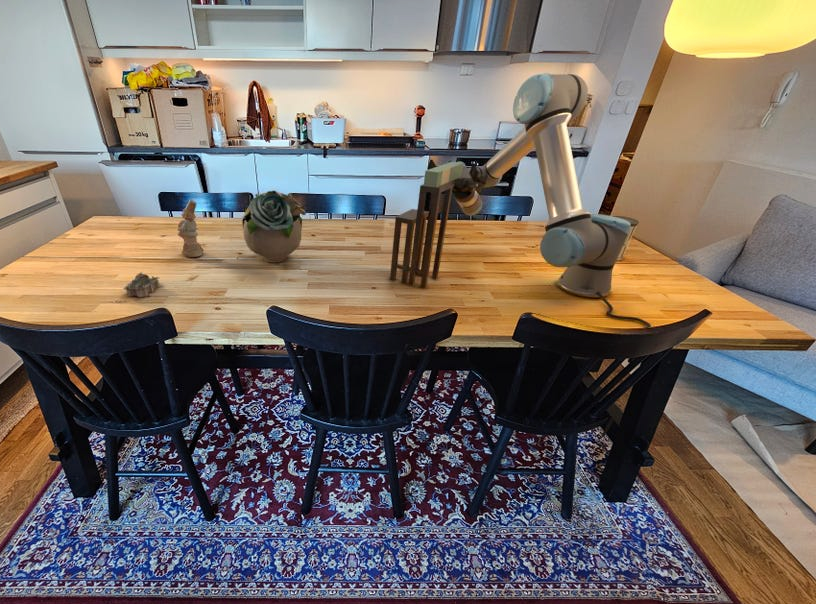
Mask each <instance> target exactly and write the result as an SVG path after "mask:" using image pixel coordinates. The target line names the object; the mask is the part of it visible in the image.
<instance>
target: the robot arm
mask: <svg viewBox="0 0 816 604" xmlns="http://www.w3.org/2000/svg"><path fill="white" fill-rule="evenodd" d="M588 90H589V89H588V85H587V83H586V81H585V80H584V78H583V77H581V76H579V75H577V74H573V73H567V74H566V73H565V74H562V73H560V74H559V73H558V74H557V73H553V74H552V73H550V72H543V73H537V74H534V75H532V76H530V77H528V78H527V79H526V80H525V81H524V82H523V83H522V84H521V85H520V86H519V89H518V90H517V93H516V96H515V97H514V100H513V104H512V112H513V117H514V120H515V121H517V122H518V123H519V124H521V125H524V127H523V128H522V129H521V130H520V131H519V132H518V133H517V134H515V136H514V137H512V138H511V140H509V141H508V142H507V143H506V144H505V145H504V146H503V147H502V148H501V149H500V150H498V151H497V152H496V153H495V154H494V155H493V156H492V157H491V158H490V159H489V160H488V161H487V162H485V164H484V165H482V166H476V164H475V163H472V164H471V167H467V165H466V164H465V163H464V162H463V161H458V162H459V163H464V164H463V169H462V175H461V177H459V178H457V179H455V180H452V181H455V184H454V187H453V188H452V194H451V196H453V198H454V199H455V201H456V202H457V204H458V205H459V207H460V210H461V211H462V213H464V214H465V215H466V216H471V217H472V216H475V215H478V213H480V212H481V209H482V208H483V200H482V197H481V196H480V193H481V191H482V189H484V188H485V189H487V188H491V187H496V186H497V185H499V184H500V183H501V180H502V178H503V175H505V173H506V172H508V171H509V170H510V169H512V168H513V167H515V166H516V164H518V163H519V162H520V161H521V160H522V159H524V158H525V157H526V156H527V155H528V154H529V153H531V152H532V151H534V150H535V153H536V158H537V163H538V169H539V174H540V178H541V179H540V180H541V184H542V191H543V195H544V199H545V204H546V210H547V215H548V221H547V222H546V224H545V225H544V229H545V232H544V234H543V235H542V238H541V240H540V245H539V251H540V255H541V257H542V259H543V260H544V261H545V262H546V263H547V264H549V265H550V266H552V267H554V268H566V269H565V270H564V271H563V273H562V274H561V275H560V276H559V278H558V280H557V286H558V288H560V290H562V291H563V292H566V293H568V294H571V295H574V296H577V297H581V298H585V299H586V298H587V299H600V300H601V301H603V303H604V304H605V305H606V306H607V307H608V308H609V309H608V310H607V311H606V315H607V316H609V317H611V318H615V319H617V320H631V321H636V322H639V323H642V324H643V325H645V326H646V328H647V327H651V328H652V326H651V324H650V322H648V321H646V320H644V319H642V318H639V317H635V316H624V315H617V314H613V313H612V312H613V311H614V308H613V305H612V304H611V303H610V302H609V301H608V300H607V299H606V297H608V296H610V293H611V290H612V282H613V281H612V280H613V269H614V267H615V264H616V263H617V261H618V260H617V258H618V256H619V253H620V251H621V249H622V247H623V244H624V242H625V240H626V238H627V236H628V232H629V230H630V227H631V224H630V223H629V222H628V221H626V220H624V219H621V218H617V217H612V216H613V215H607V214H600V213H599V214H598V213H591V212H589V211H587V210H586V209H584V208H583V203H582V199H581V193H580V188H579V182H578V178H577V177H578V176H577V172H576V167H575V166H576V165H575V161H574V156H573V150H572V145H571V140H570V135H569V130H568V125H570V124H571V123H572V122H573V121H574V120H575V119H576V118H577V117H578V116H579V115H580V114H581V112H582V111H583V109H584V108H585V106H586V104H587V100H588V95H589V91H588ZM435 167H438V166H437V165H436V163H435V162H434V159H429V161H428V165H427V170H429V169H432V168H435ZM615 419H616V416H614V417H611V418H610V419H609V421H608V422H607V424H606V426H605V428H604V429H603V432H602V433H601V436H600V437H601V438H605V436H606V434H607V432H608V431H609V429H610V427H611V425H612V424H613V422H614V420H615Z"/></svg>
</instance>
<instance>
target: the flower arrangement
mask: <svg viewBox="0 0 816 604" xmlns="http://www.w3.org/2000/svg"><path fill="white" fill-rule="evenodd" d="M254 196H255V197H252V198H251V201H250V202H249V205H248V207H247V208H246V209H245V210H244V211H245V213H244V214H243V215H242V216H241V218H242V219H241V221H242V229H243V230H242V233H243V239H244V240H243V241H244V242H245V244H246V246H247V248H248V249H249V250H250V251H251V252H253V253H254V254H256V255H257V256H260V257H262V258H263V259H264V261H265V262H268V263H281V262H284V261H285V260H286V259H287V257H288V255H291V254H292V253H294V252H295V251H296V250H297V249H298V248H299V247H300V244H301V241H302V229H303V228H302V227H303V218H302V217H301V216H306V215H307V213H306V211H305V209H304V208H305V207H304V205H302V204H301V203H300V202H298V200H297V199H295V198H294V196H293V194H292V193H291V192H289V193H287V194H286V193H283V192H280V191H277V190H274V189H272V190H268V191H266V192H262V193H260V194H259V193H258V192H256V194H254ZM300 215H301V216H300Z"/></svg>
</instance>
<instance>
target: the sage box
mask: <svg viewBox="0 0 816 604" xmlns="http://www.w3.org/2000/svg"><path fill="white" fill-rule="evenodd" d="M459 162H460V161H457V162H456V161H449V162H447V163H444V164H441V165H438V166H437V167H435V168H432V169H429V170H428V169H427V170H425V171H424V181H423V184H424V186H429V187H439V186H441V185H443V184H446V183H448V182H450V181H452V180H455V179H457V178H459V177H461V175H462V169H463V164H465V162H463V163H459Z"/></svg>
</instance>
